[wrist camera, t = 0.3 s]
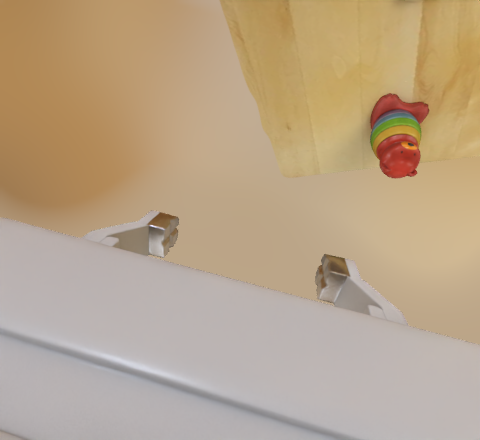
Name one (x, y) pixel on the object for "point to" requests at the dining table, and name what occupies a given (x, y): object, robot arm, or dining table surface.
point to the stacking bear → (397, 135)
